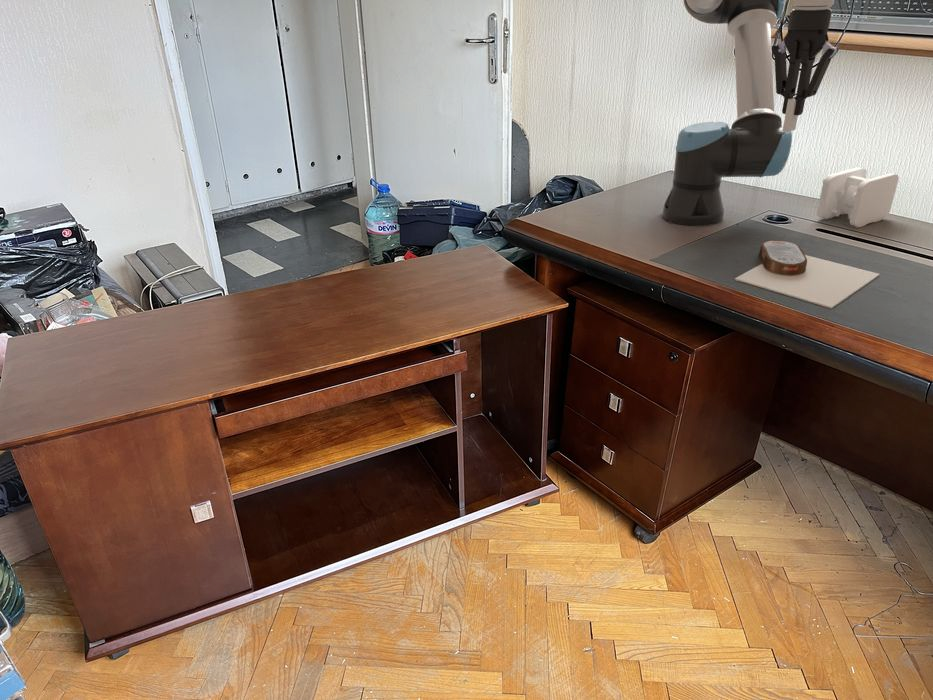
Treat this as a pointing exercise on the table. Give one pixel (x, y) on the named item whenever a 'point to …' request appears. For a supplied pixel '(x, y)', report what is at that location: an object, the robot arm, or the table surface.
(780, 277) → the mat
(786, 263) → the tin
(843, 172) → the cable organizer
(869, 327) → the table surface
